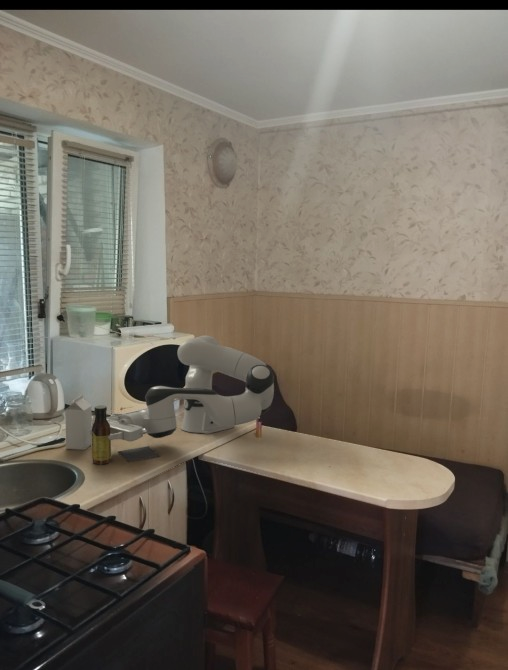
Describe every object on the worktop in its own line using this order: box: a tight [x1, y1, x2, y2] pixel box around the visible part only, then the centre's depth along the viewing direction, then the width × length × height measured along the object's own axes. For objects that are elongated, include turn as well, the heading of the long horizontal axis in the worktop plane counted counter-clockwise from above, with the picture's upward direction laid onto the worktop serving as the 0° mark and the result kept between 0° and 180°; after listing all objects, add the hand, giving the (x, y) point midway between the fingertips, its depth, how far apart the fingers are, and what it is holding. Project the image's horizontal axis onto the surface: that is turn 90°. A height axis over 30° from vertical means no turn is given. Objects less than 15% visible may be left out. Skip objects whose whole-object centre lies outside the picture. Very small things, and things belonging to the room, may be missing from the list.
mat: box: [117, 445, 161, 463], centre depth 198 cm, size 12×11×1 cm
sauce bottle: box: [91, 404, 112, 465], centre depth 188 cm, size 7×6×20 cm
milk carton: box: [64, 394, 93, 451], centre depth 203 cm, size 7×7×19 cm
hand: (99, 435), depth 187 cm, fingers open, 8 cm apart
